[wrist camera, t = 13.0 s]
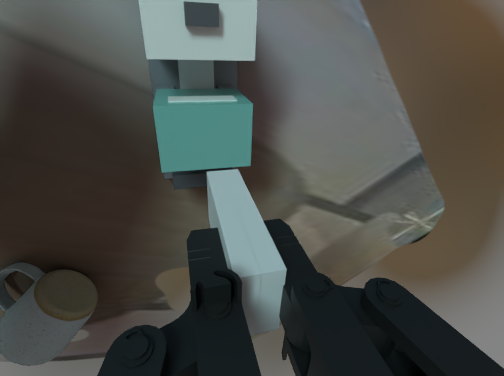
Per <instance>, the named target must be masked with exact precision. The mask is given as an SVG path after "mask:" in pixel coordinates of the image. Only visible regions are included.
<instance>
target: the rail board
mask: <svg viewBox="0 0 504 376" xmlns="http://www.w3.org/2000/svg"><path fill="white" fill-rule="evenodd" d="M139 7H140V14H141V22H142V29H143V36H144V44H145V51H146V58H147V59H148V61H149V69H150V76H151V83H152V91H153V98H155V93H156V89H157V85H174V89H217V85H233V86H234V87H235V88H236V89H237V90H238V61H255V45H256V19H257V0H139ZM234 169H237V167H229V168H216V169H203V170H189V171H176V172H163V173H164V179H169V178H173V186H174V189H185V188H197V187H207V172H209V171H221V170H234Z"/></svg>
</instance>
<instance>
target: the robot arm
mask: <svg viewBox="0 0 504 376" xmlns="http://www.w3.org/2000/svg"><path fill="white" fill-rule="evenodd" d="M207 192H208V212H209V222H210V227H211V228H209V229H201V230H194V231H191V233H190V235H189V237H188V239H187V250H188V262H189V273H190V285H191V290H190V293H191V301H190V304H189V306H188V308H187V310H186V311H185V312H184V313H183V314H182V315H181V316H180V317H179V318H178V319H176V320H175V321H173V322H171V323H169V324H167V325H166V326H164V327H162V328H160V329H158V328H157V327H155V326H150V325H141V326H135V327H133V328H131V329H129V330H127V331H125V332H124V333H122V334H121V335H120V336H119V337H118V338H117V339H116V340H115V341H114V342H113V344H112V345H111V347H110V349H109V350H108V352H107V354H106V357H105V359H104V361H103V364H102V366H101V369H100V371H99V373H98V375H97V376H261V373H260V370H259V366H258V362H257V358H256V355H255V351H254V347H253V343H252V340H251V336H250V335H255V334H259V333H264V332H268V331H273V330H277V329H279V323H280V320H281V322H282V325H283V327H284V330H285V336H284V342H283V348H282V358H283V360H286V357H287V353H288V356H289V359H290V361H291V364H292V367H293V370H294V372H295V375H296V376H504V369H503V368H502V367H501V366H500V365H499V364H497V363H496V362H495V361H494V360H492V359H491V358H490V357H489V356H487V355H486V354H485V353H484V352H483V351H481V350H480V349H479V348H477V347H476V346H475V345H474V344H473V343H471V342H470V341H469V340H468V339H466V338H465V337H464V336H463V335H462V334H460V333H459V332H458V331H457V330H456V329H454V328H453V327H452V326H451V325H449V324H448V323H447V322H446V321H445V320H443V319H442V318H441V317H440V316H438V315H437V314H436V313H435V312H433V311H432V310H431V309H430V308H429V307H427V306H426V305H425V304H424V303H422V302H421V301H420V300H419V299H417V298H416V297H415V296H414V295H413V294H411V293H410V292H409V291H408V290H406V289H405V288H404V287H402V286H401V285H399V284H398V283H396V282H395V281H392V280H389V279H386V278H374V279H370V280H369V281H368V282H367V283H366V284H365V287H364V289H362V288H352V287H343V286H338V285H335V284H334V283H333V281H332V280H331V279H330V278H328V277H327V276H325V275H323V274H321V273H318V272H317V271H316V269H315V268H314V266H313V264H312V263H311V261H310V259H309V258H308V256H307V254H306V253H305V251H304V250H303V248H302V246H301V245H300V244H299V241H298V240H297V238H296V236H294V233H293V231H292V230H291V228H290V226H289V225H287V224H286V223H285V222H283V221H282V220H281V219H273V220H266V221H263V220H262V217H261V215H260V213H259V211H258V209H257V207H256V205H255V203H254V201H253V199H252V197H251V195H250V193H249V191H248V189H247V187H246V185H245V183H244V181H243V179H242V176H241V174H240V172H239V170H238V169H234V170H221V171H209V172H207Z"/></svg>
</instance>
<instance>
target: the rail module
mask: <svg viewBox="0 0 504 376" xmlns="http://www.w3.org/2000/svg"><path fill="white" fill-rule="evenodd" d="M153 112H154V120H155V127H156V134H157V141H158V149H159V156H160V163H161V170H162V173H163V172H176V171H189V170H203V169H216V168H229V167H242V166H251V144H252V117H253V103H251V102H250V101H249V100H248V99H247V98H246V97H245V96H244V95H243V94H242V93H241V92H239V91H238V90H237V89H236V88H235V87H234V86H233V85H217V89H174V85H157V89H156V93H155V98H154V102H153Z"/></svg>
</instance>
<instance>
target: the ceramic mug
mask: <svg viewBox="0 0 504 376" xmlns="http://www.w3.org/2000/svg"><path fill="white" fill-rule="evenodd" d="M15 271H19V272H22V273H24V274H26V275H27V276H29V277H30V278H31V279H33V280H34V281H35V282H34V283H33V284H32V285H31V286H30V287H29V289H28V290H27V291H26V292H25V293H24V295H23V296H22V297H21V298H20V299H19V300H18V301H17V302H15V301H14V300H13V299H12V298H11V297H10V295H9V294H8V292H7V290H6V288H5V283H4V280H5V278H6V277H7V276H8V275H9V274H10V273H12V272H15ZM97 302H98V293H97V289H96V287H95V285H94V284H93V282H92V281H91V280H90V279H89V278H88V277H86V276H85V275H83V274H81V273H79V272H76V271H73V270H65V269H61V270H54V271H51V272H49V273H47V274H45V273H44V272H42V270H40V269H39V268H38V267H36V266H33V265H31V264H29V263H23V262H20V263H15V264H12V265H10V266H8V267H6V268H4V269H3V270H1V271H0V308H1V309H2V310H3V311H4V312H5V315H4V316H3V317H2V318H1V320H0V353H1V354H2V355H3V356H4V357H5V358H7V359H8V360H10V361H11V362H13V363H17V364H20V365H28V366H30V365H39V364H43V363H45V362H48V361H50V360H52V359H53V358H55V357H56V356H57V355H59V354H60V353H61V352H62V350H63V349H64V348H65V347H66V346H67V344H68V343H69V342H70V341H71V339H72V338H73V337H74V336H75V335H76V333H77V332H78V331H79V330H80V328H81V327H82V326H83V325H84V324H85V323H86V321H87V320H88V319H89V318H90V316H91V315H92V313H93V311H94V310H95V308H96V306H97Z"/></svg>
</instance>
